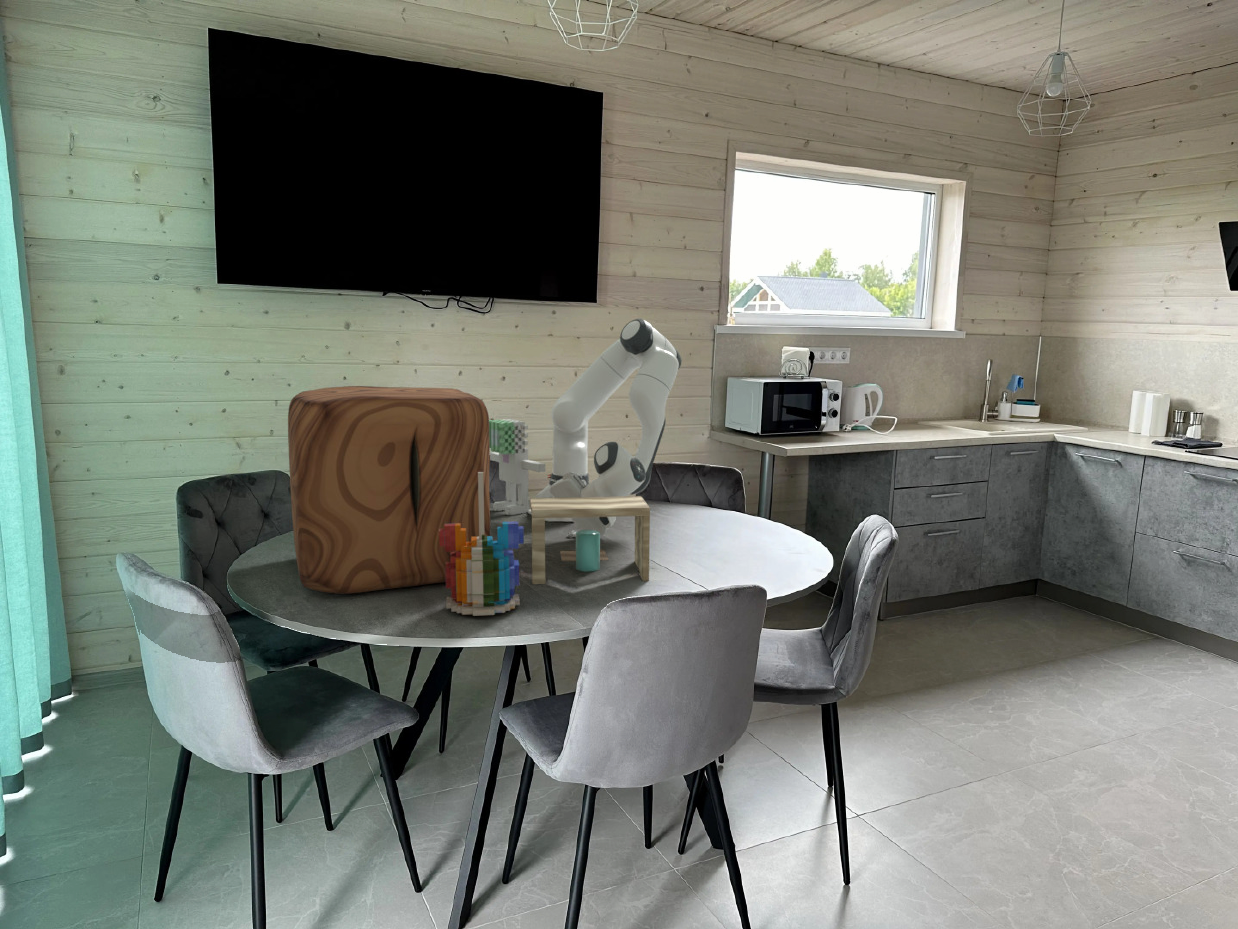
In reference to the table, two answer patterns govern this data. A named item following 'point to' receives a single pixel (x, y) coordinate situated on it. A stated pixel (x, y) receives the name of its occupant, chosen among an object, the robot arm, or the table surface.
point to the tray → (572, 555)
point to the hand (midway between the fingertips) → (559, 523)
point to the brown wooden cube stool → (383, 483)
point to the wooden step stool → (589, 508)
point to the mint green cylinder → (587, 550)
